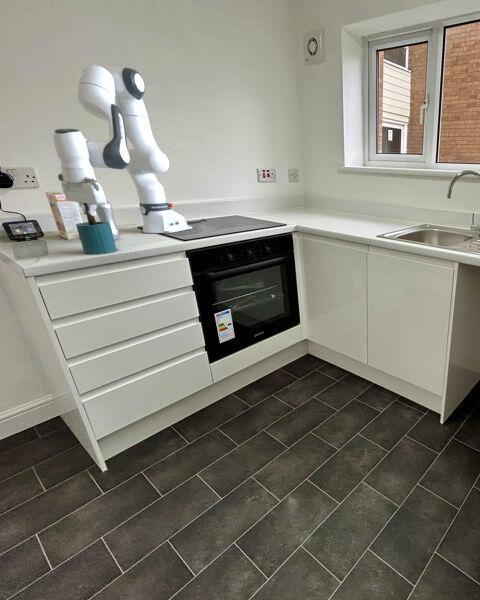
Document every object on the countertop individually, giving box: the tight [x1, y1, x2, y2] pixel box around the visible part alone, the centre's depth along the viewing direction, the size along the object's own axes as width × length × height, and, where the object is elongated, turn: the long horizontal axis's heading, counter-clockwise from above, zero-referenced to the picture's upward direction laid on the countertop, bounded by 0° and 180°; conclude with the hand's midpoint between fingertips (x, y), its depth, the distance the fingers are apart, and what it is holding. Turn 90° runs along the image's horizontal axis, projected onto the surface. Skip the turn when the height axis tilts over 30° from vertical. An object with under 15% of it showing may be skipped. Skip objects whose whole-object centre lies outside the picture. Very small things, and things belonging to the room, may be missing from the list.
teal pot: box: [76, 221, 118, 255], centre depth 137 cm, size 10×10×11 cm
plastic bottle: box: [96, 193, 121, 241], centre depth 155 cm, size 6×7×20 cm
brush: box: [83, 203, 97, 225], centre depth 135 cm, size 4×4×16 cm
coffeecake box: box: [45, 191, 84, 241], centre depth 159 cm, size 15×7×20 cm, turn 53°
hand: (90, 215), depth 134 cm, fingers closed on brush, 2 cm apart
